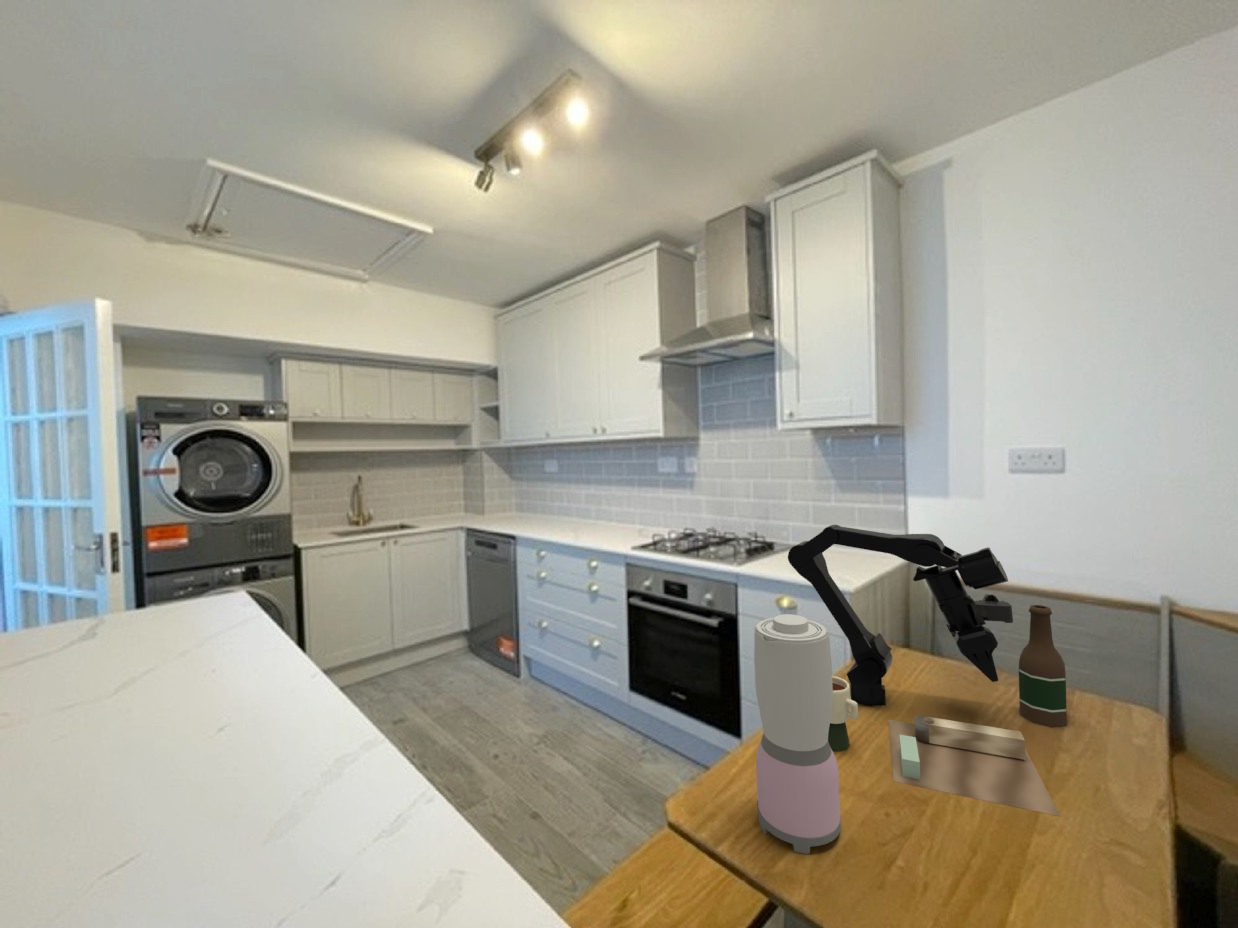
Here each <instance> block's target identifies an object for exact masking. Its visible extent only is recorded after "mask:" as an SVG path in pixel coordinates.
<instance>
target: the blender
mask: <svg viewBox="0 0 1238 928" xmlns="http://www.w3.org/2000/svg"><path fill="white" fill-rule="evenodd" d="M829 634H830V633H829V631H828V629H827V628H826V627H825V626H824V625H823V624H820V623H819V622H817V621H813V620H810V619H807V618H806V617H805V616H803V615H802V616H801V615H799V614H791V613H786V614H785V613H784V614H778V615H776V616H774V617H771V618H767V619H763V620H761V621H759V622H758V623H757V624H756V626H755V627H754V645H753V647H754V649H753V651H754V653H753V659H754V660H753V661H754V681H755V693H756V699H757V705H758V710H759V715H760V719H761V723H762V730H763V732H762V737H761V739H760V742H759V744H758V746H757V749H756V756H755V767H756V768H755V771H756V787H757V788H756V790H757V791H756V792H757V793H756V794H757V800H756V801H757V803H756V804H757V806H756V809H757V816H758V817H757V818H758V822H759V826H760V829H761V831H762V832H763V833H764V834H768V833H770V834H771V835H773V836H774V837H776V838H777V839H780V840H781V841H783V842H786V843H789V844H792V846H793V852H795V853H798V854H804V855H806V854H807V855H809V854H811V853H810V852H811V847H818V846H819V847H820V846H824V845H826V844H829V843H831V842H833V841H834V840H835V839H837V838H838V836H839V834H840V833H841V829H842V826H841V825H842V819H841V804H840V803H841V800H840V799H841V798H840V797H841V796H840V776H839V765H838V762H837V758H836V756H835V752H834V751H832V749H831V747H830V745H829V742H828V732H829V726H830V717H831V710H832V700H833V686H832V676H833V666H832V663H833V662H832V654H831V644H830V643H831V642H830V635H829Z"/></svg>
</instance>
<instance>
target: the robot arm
mask: <svg viewBox="0 0 1238 928" xmlns="http://www.w3.org/2000/svg"><path fill="white" fill-rule="evenodd" d="M834 545H839V546H845V547H849V548H850V547H851V548H856V549H860V550H861V549H862V550H865V551H866V550H867V551H873V552H878V553H883V554H889V555H892V556H896V557H898V558H899V559H901V560H903V561H907V562H909V563H912V564H915V565H916V566H917V565H918V566H917V567H916V569H915V574H914V576H913V578H912V581H913V582H919V581H922V580H925V582H926V584H927V586H928V588H929V590H930V592H931V594H932V596H933V598H934V600H935V602H936V604H937V606H938V608H939V610H940V612H941V614H942V616H943V618H944V623H945V625H946V627H947V629H948V631H949V633H950V634H951V636H952V637H953V640H954V642H955V643H956V646H957V648H958V650H959V652H960V653H961V655H963V656H964V657H965V658H966V659H967V660H968V661H969V662H971V663H972V664H973V666H975V667H976V668H977V669H978V670H979V671H980V672H981V673H982V674H983V675H984V676H985V677H986V678H987V679H988V680H990V682H992V683H995V682H999V677H998V672H997V668H996V666H995V662H994V657H993V653H994V651H995V649H997V648H998V644H999V643H998V640H997V638H996V636H995V634H994V633H993V632H992V630H991V629H989V628H988V627H985V626H983V625H987V623H986V622H1002V623H1005V624H1012V623H1014V616H1013V615H1014V614H1013V608H1012V607H1013V606H1012V604H1010V603H1009V602H1008V601H1005V600H999V599H998V598H997V596H996V595H995V594H987V593H986V594H984V596H983V598H982V599H979V600H974V599H973V598H972V597H971V595H969V594H968V592H967V589H966V588H965V586H966V587H969V588H973V589H975V590H980V589H982V588H988V587H991V586H995V585H999V584H1005V583H1006V582H1009V578H1008V576H1007V573H1006V571H1005V569H1004V567H1003V565H1002V563H1001V562H1000V560H998V559H997V557H996V556H995V554H994V553H993V551H992V550H991V548H990V547H985V548H982V549H979V550H978V551H973V552H971V553H967V554H964V555H962V553H960V552H957V551H955V550H954V549H952V548H950V547H948V546H946V545H945V543H944V542H943V540H941V538H940V537H939V536H937V535H935V534H933V533H932V534H931V533H908V534H907V533H906V534H890V533H886V532H885V533H884V532H881V531H880V532H878V531H873V530H872V531H871V530H866V529H861V528H860V529H859V528H852V527H846V526H841V525H838V524H831V525H828V526H826V527H825V528H824V529H823V530H822V531H821V532H819V533H818V534H817V535H815V536H814V537H812V538H811V539H810V540H804V541H801V542H799V543H798V544H795V545H794V546H792V547H791V548H790V549H789V550H788V554H787V560H788V563H789V565H791V567H792V568H793V569H794V570H795V572H797V573H798V575H799V576H801V577H802V578H803V579H804V580H805V581H806V580H807V581H808V582H809V583H810V584H811V585H812V587H813V588H814V589H815V591H816V593H817V594H818V596H819V597H820V599H821V601H822V602H823V604H824V605H825V607H826V608H827V610H828V611H829V613H830V614H831V616H832V617H833V618H834V620H835V622H836V623H837V625H838V627H840V630H841V631H842V633H843V634H844V635H845V637H846V638H847V640H848V643H849V646H850V647H849V648H850V651H851V654H852V658H853V660H854V663H853V664H852V666H851V667H850V668H849V670H848V671H847V672H846V676H847V678H848V683H849V685H850V696H851V700H853V701H855V702H856V703H857V704H858V705H862V706H865V707H877V706H881V707H882V706H886V705H887V702H886V699H887V698H886V687H885V686H886V685H884V684H883V679H882V678H884V677H885V676H886V674H887V673H888V671H889V669H890V667H891V666H892V663H893V655H892V653H891V651H892V647H891V646H889V645H888V644H887V643H886V640H885V639H884V637H883V635H882V634H881V633H880V632H878V633H877V634H873V633H872V632H871V631H870V630H868V628H866V626H865V625H864V623H863V622H862V621H861V619H860V617H859V616H858V615H857V613H856V612H855V610H854V609H853V607H852V606H851V604H850V603H849V601H848V600H847V598H846V596H845V595H844V594H843V592H842V591H841V589H840V588H839V586H838V585H837V584H836V582H835V580H834V579H833V578H832V576H831V574H830V573H829V569H828V565H827V562H826V559H825V556H824V552H825V551H827V550H828V549H829V548H831V547H832V546H834ZM924 567H926V568H924ZM927 567H928V568H927ZM957 572H958V573H957ZM958 574H959V575H958ZM959 576H960V577H959ZM960 578H961V579H960ZM963 584H964V585H965V586H964V585H963Z"/></svg>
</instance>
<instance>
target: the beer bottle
mask: <svg viewBox="0 0 1238 928" xmlns="http://www.w3.org/2000/svg"><path fill="white" fill-rule="evenodd" d="M1028 612H1029V613H1030V620H1029V621H1030V623H1029V639H1028V643H1027V644H1026V645H1025V647H1023V649H1022V650H1021V653H1020V655H1019V659H1018V692H1019V693H1018V695H1019V696H1018V698H1019V699H1018V701H1019V715H1020V717H1022V718H1024V719H1026V720H1027V721H1028V722H1030V723H1032V724H1036V725H1041V726H1044V727H1048V728H1051V729H1052V728H1053V729H1054V728H1063V727H1064V728H1066V727H1067V725H1068V724H1067V723H1068V722H1067V721H1068V720H1067V719H1068V713H1067V712H1068V711H1067V710H1068V709H1067V680H1066V679H1067V677H1066V676H1067V674H1066V666H1065V661H1064V659H1063V656H1062V655H1061V653H1060V652H1059V651H1058V650H1057V649H1056V647H1055V644H1054V640H1053V632H1052V630H1053V629H1052V621H1051V616H1052V614H1053V612H1052V609H1051V607H1049V606H1046V605H1042V604H1033V605H1032V604H1031V605H1030V606H1029V609H1028Z"/></svg>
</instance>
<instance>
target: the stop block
mask: <svg viewBox="0 0 1238 928" xmlns="http://www.w3.org/2000/svg"><path fill="white" fill-rule="evenodd" d="M899 738H900V756H901V765H902V774H903V776H904V777H909V778H914V779H919V780H920V761H919V755H918V749H917V743H916V737H911V736H905V735H900V734H899Z"/></svg>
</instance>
